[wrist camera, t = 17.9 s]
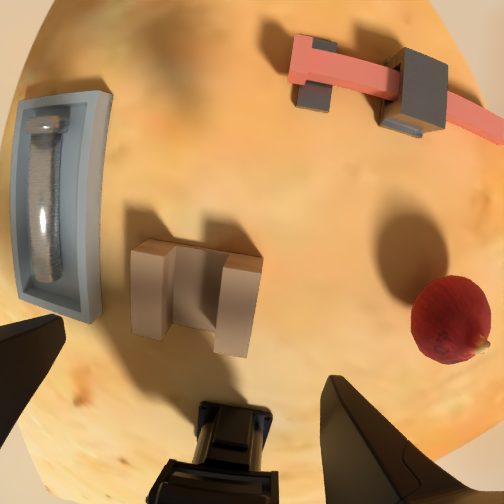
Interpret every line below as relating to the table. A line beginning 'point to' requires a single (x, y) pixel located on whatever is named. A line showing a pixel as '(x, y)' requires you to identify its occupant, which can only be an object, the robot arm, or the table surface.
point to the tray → (64, 203)
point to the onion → (451, 320)
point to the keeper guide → (409, 98)
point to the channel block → (194, 292)
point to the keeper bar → (382, 85)
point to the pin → (45, 194)
